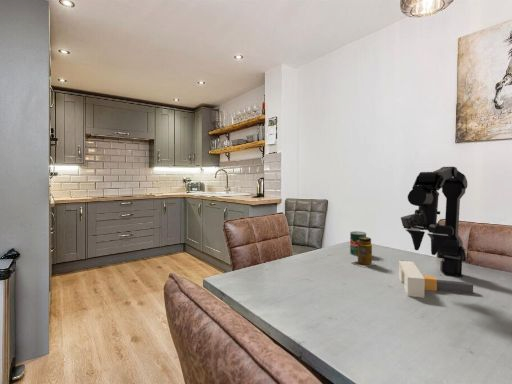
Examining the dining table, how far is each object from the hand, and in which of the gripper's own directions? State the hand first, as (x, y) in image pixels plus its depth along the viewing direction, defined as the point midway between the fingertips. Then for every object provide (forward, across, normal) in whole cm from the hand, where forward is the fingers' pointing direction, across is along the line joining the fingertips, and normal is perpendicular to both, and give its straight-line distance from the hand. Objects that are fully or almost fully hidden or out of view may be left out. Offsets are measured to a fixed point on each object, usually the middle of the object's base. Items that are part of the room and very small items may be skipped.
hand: (424, 252), depth 101 cm
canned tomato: (+10, -52, -2) cm, 53 cm away
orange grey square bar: (+13, -2, +10) cm, 17 cm away
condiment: (+12, -34, -6) cm, 37 cm away
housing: (+14, -6, 0) cm, 15 cm away
